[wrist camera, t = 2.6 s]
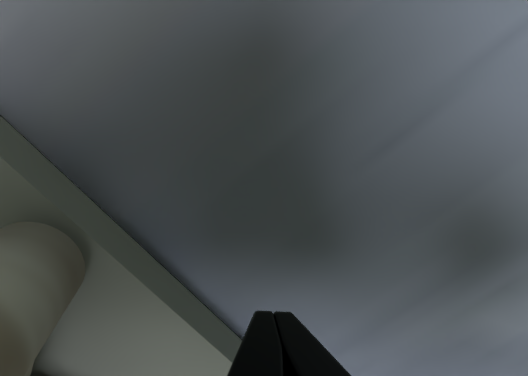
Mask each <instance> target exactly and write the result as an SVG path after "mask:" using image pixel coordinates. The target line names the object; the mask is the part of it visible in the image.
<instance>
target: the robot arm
mask: <svg viewBox="0 0 528 376" xmlns="http://www.w3.org/2000/svg"><path fill="white" fill-rule="evenodd" d="M227 376H351V375H350V374H349V373H348V372H347V371H346V370H345V369H344V368H343V366H342V365H341V364H340V363H339V362H338V361H337V360H336V359H335V358H334V357H333V356H332V355H331V354H330V353H329V352H328V351H327V350H326V348H325V347H324V346H323V345H322V344H321V343H320V342H319V341H318V340H317V339H316V338H315V337H314V336H313V335H312V334H311V333H310V332H309V330H308V329H307V328H306V327H305V326H304V325H303V324H302V323H301V322H300V321H299V320H298V319H297V318H296V317H295V316H294V315H293V314H292V313H291V312H278V311H276V312H274V313H272V312H271V311H255V313H254V314H253V317H252V319H251V321H250V324H249V326H248V328H247V331H246V333H245V335H244V337H243V340H242V342H241V344H240V347H239V349H238V351H237V354H236V356H235V358H234V360H233V363H232V365H231V367H230V370H229V372H228V374H227Z"/></svg>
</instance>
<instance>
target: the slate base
mask: <svg viewBox="0 0 528 376" xmlns="http://www.w3.org/2000/svg"><path fill="white" fill-rule="evenodd" d="M17 222H38V223H42V224H46V225H49V226H52V227H54V228H56V229H58V230H60V231H61V232H63V233H64V234H66V235H67V236H68V237H69V238H71V239H72V240H73V241H74V243H75V244H76V245H77V246H78V248H79V250H80V251H81V253H82V256H83V258H84V262H85V276H84V280H83V282H82V284H81V286H80V288H79V289H78V291H77V293H76V294H75V296H74V297H73V299H72V301H71V302H70V304H69V305H68V307H67V309H66V310H65V312H64V313H63V315H62V317H61V318H60V320H59V321H58V323H57V324H56V326H55V328H54V329H53V331H52V332H51V334H50V336H49V337H48V339H47V340H46V342H45V344H44V345H43V347H42V348H41V350H40V352H39V353H38V355H37V356H36V358H35V360H34V363H33V367H32V371H31V375H30V376H227V374H228V372H229V370H230V367H231V365H232V363H233V360H234V358H235V356H236V354H237V351H238V349H239V347H240V344H241V342H242V340H241V339H240V338H239V337H238V336H237V335H236V334H235V333H234V332H232V331H231V330H230V329H229V328H228V327H227V326H226V325H225V324H224V323H223V322H222V321H221V320H220V319H218V318H217V317H216V316H215V315H214V314H213V313H212V312H211V311H210V310H209V309H208V308H207V307H206V306H204V305H203V304H202V303H201V302H200V301H199V300H198V299H197V298H196V297H195V296H194V295H193V294H192V293H190V292H189V291H188V290H187V289H186V288H185V287H184V286H183V285H182V284H181V283H180V282H179V281H178V280H176V279H175V278H174V277H173V276H172V275H171V274H170V273H169V272H168V271H167V270H166V269H165V268H164V267H163V266H161V265H160V264H159V263H158V262H157V261H156V260H155V259H154V258H153V257H152V256H151V255H150V254H149V253H147V252H146V251H145V250H144V249H143V248H142V247H141V246H140V245H139V244H138V243H137V242H136V241H135V240H133V239H132V238H131V237H130V236H129V235H128V234H127V233H126V232H125V231H124V230H123V229H122V228H121V227H119V226H118V225H117V224H116V223H115V222H114V221H113V220H112V219H111V218H110V217H109V216H108V215H107V214H105V213H104V212H103V211H102V210H101V209H100V208H99V207H98V206H97V205H96V204H95V203H94V202H93V201H92V200H90V199H89V198H88V197H87V196H86V195H85V194H84V193H83V192H82V191H81V190H80V189H79V188H78V187H76V186H75V185H74V184H73V183H72V182H71V181H70V180H69V179H68V178H67V177H66V176H65V175H64V174H62V173H61V172H60V171H59V170H58V169H57V168H56V167H55V166H54V165H53V164H52V163H51V162H50V161H48V160H47V159H46V158H45V157H44V156H43V155H42V154H41V153H40V152H39V151H38V150H37V149H36V148H34V147H33V146H32V145H31V144H30V143H29V142H28V141H27V140H26V139H25V138H24V137H23V136H22V135H21V134H19V133H18V132H17V131H16V130H15V129H14V128H13V127H12V126H11V125H10V124H9V123H8V122H7V121H5V120H4V119H3V118H2V117H1V116H0V229H1V228H3V227H4V226H7V225H9V224H13V223H17Z"/></svg>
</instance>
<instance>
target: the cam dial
mask: <svg viewBox="0 0 528 376" xmlns="http://www.w3.org/2000/svg"><path fill="white" fill-rule="evenodd" d="M84 276H85V262H84V258H83V256H82V253H81V251H80V250H79V248H78V246H77V245H76V244H75V243H74V241H73V240H72V239H71V238H69V237H68V236H67V235H66V234H64V233H63V232H61V231H60V230H58V229H56V228H54V227H52V226H49V225H46V224H42V223H38V222H17V223H13V224H9V225H7V226H4V227H3V228H1V229H0V376H30V375H31V371H32V367H33V363H34V360H35V358H36V356H37V355H38V353H39V352H40V350H41V348H42V347H43V345H44V344H45V342H46V340H47V339H48V337H49V336H50V334H51V332H52V331H53V329H54V328H55V326H56V324H57V323H58V321H59V320H60V318H61V317H62V315H63V313H64V312H65V310H66V309H67V307H68V305H69V304H70V302H71V301H72V299H73V297H74V296H75V294H76V293H77V291H78V289H79V288H80V286H81V284H82V282H83V280H84Z"/></svg>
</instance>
